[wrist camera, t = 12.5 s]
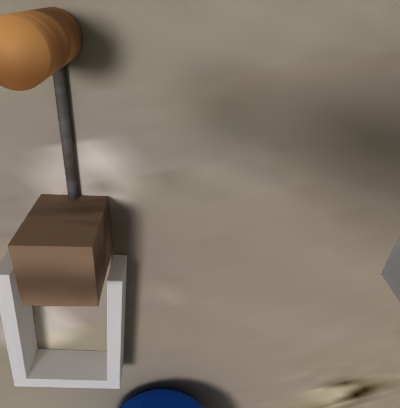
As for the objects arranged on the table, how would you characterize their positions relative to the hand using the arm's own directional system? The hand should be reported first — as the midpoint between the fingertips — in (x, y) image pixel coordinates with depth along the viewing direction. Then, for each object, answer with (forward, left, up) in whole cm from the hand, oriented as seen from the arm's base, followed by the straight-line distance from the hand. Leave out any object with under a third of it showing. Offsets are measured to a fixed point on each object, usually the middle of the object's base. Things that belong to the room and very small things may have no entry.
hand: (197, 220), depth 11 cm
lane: (+30, -11, -26) cm, 41 cm away
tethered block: (+9, -10, -26) cm, 29 cm away
